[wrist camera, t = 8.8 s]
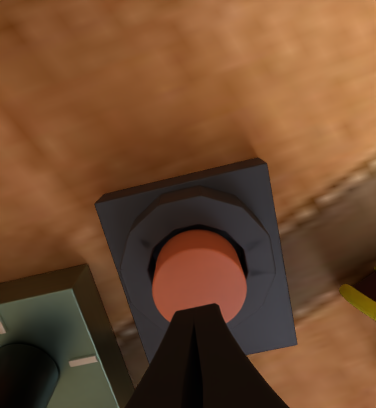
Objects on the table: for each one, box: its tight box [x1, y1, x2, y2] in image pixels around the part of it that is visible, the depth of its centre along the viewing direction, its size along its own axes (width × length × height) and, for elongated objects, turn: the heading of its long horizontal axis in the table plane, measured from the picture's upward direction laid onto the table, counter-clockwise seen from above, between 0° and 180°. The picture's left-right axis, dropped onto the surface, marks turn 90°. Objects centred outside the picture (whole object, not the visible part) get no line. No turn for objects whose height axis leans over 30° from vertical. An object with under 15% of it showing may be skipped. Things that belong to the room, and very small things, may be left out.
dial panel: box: [0, 264, 135, 408], centre depth 17 cm, size 10×8×3 cm
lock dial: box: [0, 344, 59, 408], centre depth 14 cm, size 4×4×4 cm
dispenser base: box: [94, 158, 297, 365], centre depth 15 cm, size 10×8×4 cm
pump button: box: [152, 229, 247, 323], centre depth 13 cm, size 4×4×2 cm
